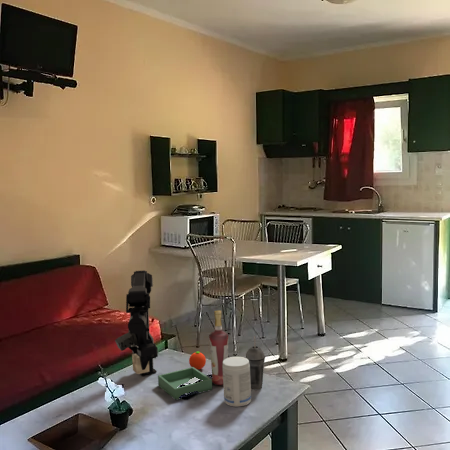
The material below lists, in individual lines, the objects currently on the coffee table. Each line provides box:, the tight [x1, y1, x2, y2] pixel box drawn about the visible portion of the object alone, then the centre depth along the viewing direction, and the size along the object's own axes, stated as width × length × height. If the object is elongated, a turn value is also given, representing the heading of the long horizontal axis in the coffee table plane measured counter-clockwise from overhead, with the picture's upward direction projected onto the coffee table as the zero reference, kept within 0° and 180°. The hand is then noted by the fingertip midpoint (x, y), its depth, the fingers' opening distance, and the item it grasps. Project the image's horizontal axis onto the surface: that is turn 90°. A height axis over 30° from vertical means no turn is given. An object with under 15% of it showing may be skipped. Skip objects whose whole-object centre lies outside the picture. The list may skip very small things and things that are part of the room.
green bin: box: [157, 366, 213, 401], centre depth 193 cm, size 15×15×4 cm
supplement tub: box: [222, 356, 252, 408], centre depth 179 cm, size 10×10×15 cm
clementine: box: [188, 351, 207, 371], centre depth 211 cm, size 8×7×7 cm
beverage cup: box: [245, 335, 266, 391], centre depth 190 cm, size 7×7×20 cm
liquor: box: [208, 310, 229, 386], centre depth 195 cm, size 7×7×28 cm
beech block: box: [131, 353, 149, 375], centre depth 184 cm, size 4×4×6 cm
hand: (141, 367), depth 184 cm, fingers closed on beech block, 4 cm apart
